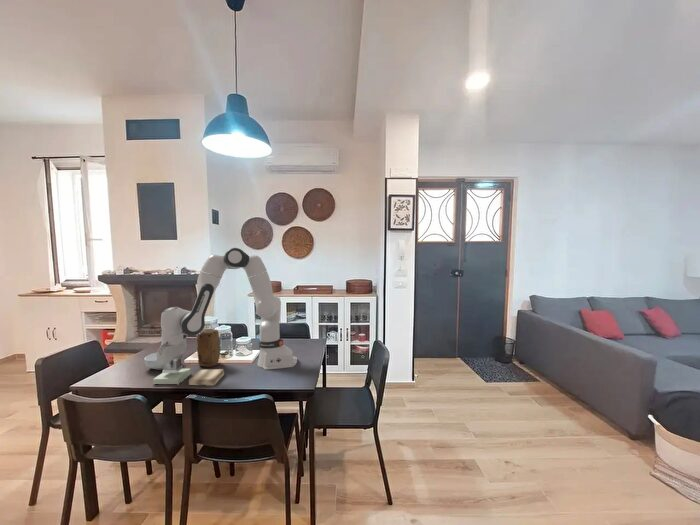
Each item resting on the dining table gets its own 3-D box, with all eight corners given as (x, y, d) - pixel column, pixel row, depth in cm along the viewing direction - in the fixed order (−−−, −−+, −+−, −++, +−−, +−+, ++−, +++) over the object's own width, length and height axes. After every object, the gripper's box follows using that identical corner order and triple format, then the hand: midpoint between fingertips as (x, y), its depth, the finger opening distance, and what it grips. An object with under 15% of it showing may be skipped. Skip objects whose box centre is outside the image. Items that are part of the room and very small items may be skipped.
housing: (182, 368, 149) (182, 354, 149) (176, 372, 143) (176, 358, 143) (168, 368, 149) (168, 354, 148) (162, 373, 143) (161, 358, 143)
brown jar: (221, 362, 168) (220, 329, 167) (213, 367, 160) (212, 332, 159) (204, 362, 169) (203, 328, 168) (195, 367, 161) (194, 332, 161)
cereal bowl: (170, 359, 174) (170, 347, 174) (186, 364, 165) (185, 352, 165) (138, 369, 159) (138, 356, 159) (153, 375, 151) (153, 362, 151)
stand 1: (191, 374, 152) (190, 368, 152) (178, 384, 140) (178, 378, 140) (167, 374, 152) (167, 369, 152) (153, 385, 140) (153, 379, 140)
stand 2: (223, 374, 151) (223, 369, 151) (214, 385, 139) (214, 379, 139) (200, 375, 151) (200, 369, 151) (189, 386, 139) (188, 379, 139)
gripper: (166, 345, 135) (167, 374, 136) (188, 333, 156) (189, 358, 156) (152, 346, 135) (153, 375, 135) (176, 333, 155) (177, 358, 156)
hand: (172, 366), depth 146 cm, fingers closed on housing, 5 cm apart
